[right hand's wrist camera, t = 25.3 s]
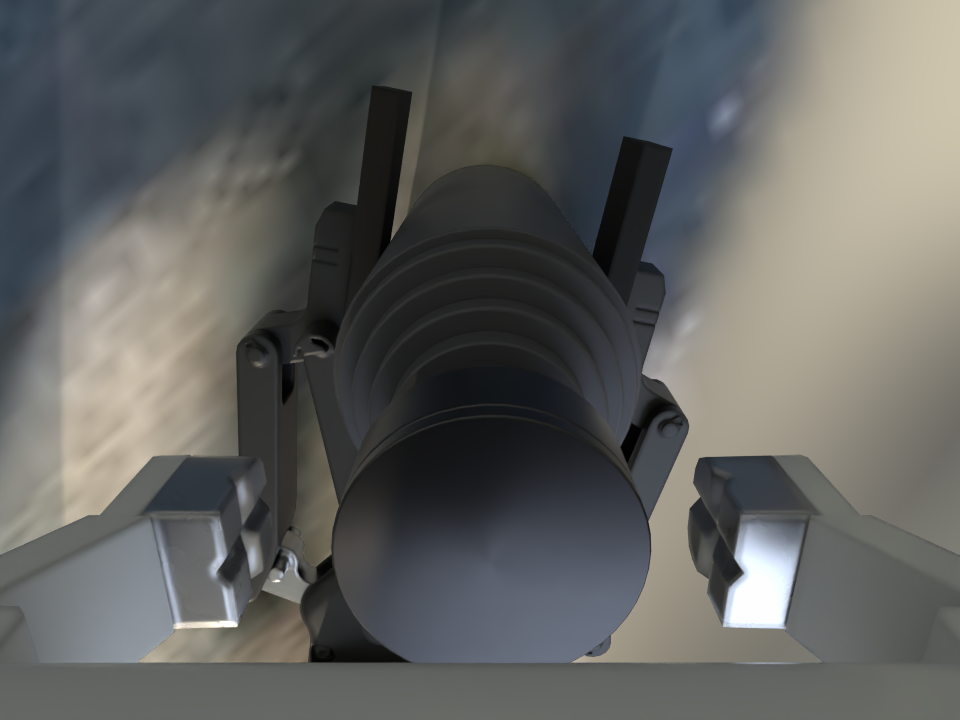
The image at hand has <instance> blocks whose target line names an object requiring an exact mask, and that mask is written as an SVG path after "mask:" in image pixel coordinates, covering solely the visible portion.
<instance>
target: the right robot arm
mask: <svg viewBox="0 0 960 720" xmlns="http://www.w3.org/2000/svg"><path fill="white" fill-rule="evenodd" d="M266 483H267V481H266V475H265V470H264V464H263V462H262V461H261V459H260V458H259V457H247V456H190V455H161V456H155V457H152V458H151V459H150V460H149V461H148V463H147V464H146V465H145V466H144V467H143V468H142V469H141V470H140V471H139V472H138V474H137V475H136V476H135V477H134V478H133V479H132V480H131V481H130V482H129V484H128V485H127V486H126V487H125V488H124V489H123V490H122V491H121V492H120V493H119V495H118V496H117V497H116V498H115V499H114V500H113V501H112V502H111V503H110V504H109V506H108V507H107V508H106V509H105V510H104V511H103V512H102V513H101V514H100V515H88V516H86V517H84V518H82V519H79V520H77V521H75V522H73V523H71V524H68V525H66V526H64V527H62V528H60V529H57V530H55V531H53V532H51V533H48V534H46V535H44V536H42V537H40V538H37V539H35V540H33V541H31V542H29V543H26V544H24V545H22V546H20V547H17V548H15V549H13V550H11V551H9V552H6V553H4V554H2V555H0V720H960V555H958V554H956V553H953V552H951V551H949V550H947V549H945V548H942V547H940V546H938V545H936V544H933V543H931V542H929V541H927V540H925V539H922V538H920V537H918V536H916V535H914V534H911V533H909V532H907V531H905V530H903V529H900V528H898V527H896V526H894V525H892V524H889V523H887V522H885V521H883V520H881V519H878V518H876V517H874V516H871V515H860V514H859V513H858V512H857V511H856V510H855V509H854V508H853V507H852V506H851V504H850V503H849V502H848V501H847V500H846V499H845V498H844V497H843V496H842V495H841V494H840V492H839V491H838V490H837V489H836V488H835V487H834V486H833V485H832V483H831V482H830V481H829V480H828V479H827V478H826V477H825V476H824V475H823V474H822V472H821V471H820V470H819V469H818V468H817V467H816V466H815V465H814V464H813V463H812V461H811V460H810V459H809V458H808V457H805V456H802V455H780V456H733V457H704V458H699V460H698V463H697V465H696V468H695V474H694V481H693V483H694V485H695V487H696V489H697V491H698V493H699V495H700V498H699V499H698V500H697V501H696V502H695V503H694V504H693V506H692V507H691V508H690V510H689V520H688V540H689V548H690V552H691V556H692V560H693V562H694V565H695V567H696V569H697V571H698V572H699V573H701V574H702V575H704V576H705V577H707V578H708V579H709V583H708V590H707V594H708V596H709V598H710V600H711V602H712V604H713V607H714V609H715V611H716V613H717V615H718V617H719V619H720V622H721V624H722V626H723V627H747V628H784V629H785V632H787V633H788V634H789V635H790V636H792V637H793V638H794V639H795V640H796V641H798V642H799V643H800V644H801V645H802V646H804V647H805V648H806V649H807V650H808V651H810V652H811V653H812V654H813V655H815V656H816V657H817V658H818V659H819V660H821V661H822V662H823V663H137V662H138V661H140V660H141V659H142V658H143V657H144V656H146V655H147V654H148V653H149V652H151V651H152V650H153V649H154V648H155V647H157V646H158V645H159V644H160V643H162V642H163V641H164V640H165V639H166V638H168V637H169V636H170V635H171V634H173V633H174V632H175V630H174V629H176V628H211V627H237V626H238V624H239V622H240V620H241V617H242V615H243V613H244V611H245V609H246V607H247V604H248V602H249V600H250V598H251V596H252V594H253V590H252V583H251V579H252V578H253V577H255V576H256V575H258V574H259V573H261V572H262V571H263V569H264V567H265V564H266V562H267V560H268V557H269V552H270V547H271V541H272V518H271V510H270V508H269V507H268V506H267V504H266V503H265V502H264V501H263V500H262V499H261V498H260V495H261V493H262V491H263V489H264V487H265V485H266Z"/></svg>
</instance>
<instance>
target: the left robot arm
mask: <svg viewBox="0 0 960 720" xmlns="http://www.w3.org/2000/svg"><path fill="white" fill-rule="evenodd" d="M411 97H412V92H410V91H405V90H400V89H395V88H391V87H384V86H372V90H371V98H370V106H369V114H368V122H367V130H366V138H365V146H364V154H363V162H362V170H361V178H360V186H359V194H358V202H357V205H352V204H347V203H342V202H337V201H335V202H333V203H332V204H331V205H329V206H328V207H327V208H325V210H324V211H323V213H322V215H321V217H320V219H319V220H318V222H317V224H316V228H315V237H314V247H313V257H312V258H313V260H312V266H311V276H310V286H309V295H308V304H307V308H306V309H303V310H299V311H293V312H285V311H282V310H274V311H271V312H269V313H267V314H266V315H265V316H264V317H263V318H262V319H261V320H260V321H259V322H258V323H257V324H256V325H255V326H254V327H253V328H252V329H251V330H250V332H249V333H248V334H247V335H246V336H245V337H244V338H243V339H242V340H241V341H240V343H239V344H238V346H237V351H236V363H237V402H238V441H239V456H247V457H259V458H260V459H261V461H262V462H263V464H264V470H265V475H266V481H267V483H266V485H265V487H264V489H263V491H262V493H261V495H260V498H261V499H262V500H263V501H264V502H265V503H266V504H267V506H268V507H269V508H270V510H271V518H272V541H271V547H270V552H269V557H268V560H267V562H266V564H265V567H264V569H263V571H262V572H261V573H259V574H258V575H256V576H255V577H253V578H252V579H251V583H252V590H253V594H252V596H251V598H250V600H249V602H252V601H254V600H256V598H257V597H258V596H259V594H260V592H261V590H264V591H266V592H269V593H272V594H274V595H277V596H280V597H282V598H285V599H288V600H290V601H293V602H296V603H298V604H300V612H301V616H302V619H303V621H304V623H305V624H306V626H307V628H308V630H309V633H310V649H309V657H308V663H411V662H409V661H407V660H405V659H403V658H402V657H400V656H398V655H397V654H395V653H393V652H391V651H390V650H389V649H387V648H386V647H385V646H383V645H382V644H381V643H379V642H378V641H377V640H376V639H375V638H374V637H373V636H372V635H370V634H369V633H368V632H367V631H366V630H365V629H364V628H363V626H362V625H361V624H360V623H359V621H358V620H357V619H356V618H355V616H354V615H353V614H352V612H351V610H350V609H349V607H348V605H347V604H346V602H345V600H344V598H343V596H342V594H341V591H340V589H339V586H338V584H337V581H336V577H335V572H334V568H333V563H332V554H331V555H330V556H329V557H327V558H326V559H325V560H324V561H323V562H321V563H320V564H319V565H318V566H317V567H314V566H312V565H310V564H309V563H308V562H307V561H306V559H305V557H304V546H305V545H304V542H303V540H302V538H301V537H300V536H301V531H300V530H299V529H298V528H296V527H293V526H291V527H290V525H291V522H292V520H293V517H294V512H295V508H296V498H297V425H298V362H304V364H305V368H306V372H307V377H308V381H309V385H310V389H311V393H312V397H313V401H314V405H315V409H316V413H317V417H318V421H319V426H320V430H321V434H322V438H323V442H324V446H325V450H326V454H327V458H328V462H329V466H330V470H331V474H332V479H333V483H334V487H335V491H336V495H337V499H338V503H339V505H340V502H341V500H342V496H343V493H344V491H345V488H346V485H347V482H348V479H349V476H350V474H351V471H352V468H353V465H354V462H355V459H356V456H357V454H358V451H357V449H356V448H355V446H354V444H353V443H352V441H351V439H350V437H349V434H348V432H347V429H346V427H345V425H344V422H343V418H342V415H341V413H340V409H339V405H338V402H337V398H336V393H335V385H334V377H333V372H334V353H335V347H336V341H337V337H338V333H339V330H340V327H341V324H342V321H343V319H344V316H345V314H346V312H347V310H348V308H349V306H350V304H351V302H352V301H353V299H354V297H355V296H356V294H357V293H358V291H359V290H360V288H361V287H362V285H363V284H364V282H365V280H366V279H367V277H368V276H369V274H370V273H371V271H372V270H373V268H374V266H375V265H376V263H377V262H378V260H379V259H380V257H381V256H382V254H383V253H384V251H385V249H386V248H387V246H388V245H389V243H390V240H391V234H392V227H393V220H394V213H395V206H396V199H397V193H398V186H399V179H400V172H401V165H402V158H403V152H404V145H405V138H406V131H407V124H408V117H409V111H410V104H411ZM672 150H673V149H672V148H669V147H666V146H662V145H659V144H656V143H652V142H649V141H644V140H639V139H635V138H630V137H625V136H624V137H623V141H622V144H621V148H620V152H619V156H618V160H617V164H616V167H615V171H614V175H613V179H612V183H611V186H610V190H609V194H608V198H607V202H606V206H605V209H604V213H603V217H602V221H601V225H600V228H599V232H598V236H597V240H596V244H595V248H594V251H593V255H592V257H593V258H594V260H595V261H596V262H597V264H598V265H599V267H600V268H601V269H602V271H603V272H604V274H605V275H606V276H607V278H608V279H609V281H610V282H611V283H612V285H613V286H614V288H615V289H616V290H617V292H618V293H619V295H620V297H621V298H622V300H623V302H624V304H625V305H626V307H627V309H628V311H629V313H630V316H631V318H632V321H633V323H634V326H635V328H636V332H637V337H638V341H639V345H640V352H641V364H642V369H643V364H644V361H645V358H646V355H647V352H648V348H649V345H650V342H651V339H652V335H653V332H654V329H655V324H656V322H657V319H658V316H659V311H660V310H661V306H662V303H663V300H664V297H665V281H664V275H663V274H662V273H661V272H660V271H659V270H658V269H657V268H656V267H655V266H654V265H653V264H652V263H647V262H642V261H640V260H641V257H642V253H643V250H644V246H645V243H646V239H647V236H648V232H649V229H650V225H651V222H652V219H653V215H654V212H655V208H656V205H657V201H658V198H659V194H660V191H661V187H662V184H663V181H664V177H665V174H666V170H667V167H668V163H669V160H670V156H671V153H672ZM688 430H689V423H688V420H687V418H686V416H685V415H684V413H683V412H682V410H681V408H680V407H679V405H678V404H677V402H676V401H675V399H674V397H673V396H672V394H671V393H670V391H669V389H668V388H667V387H666V385H665V384H664V383H663V382H661V381H659V380H657V379H650V378H648V377H647V376H645V375H643V374H642V371H641V386H640V391H639V396H638V401H637V405H636V408H635V412H634V416H633V419H632V422H631V425H630V428H629V430H628V433H627V435H626V437H625V439H624V441H623V443H622V445H621V447H620V448H621V450H622V453H623V455H624V458H625V460H626V463H627V465H628V468H629V470H630V473H631V475H632V478H633V480H634V483H635V486H636V488H637V490H638V493H639V495H640V498H641V501H642V503H643V506H644V509H645V512H646V514H647V518H648V521H649V519H650V516H651V514H652V512H653V510H654V507H655V505H656V503H657V501H658V498H659V496H660V494H661V492H662V490H663V487H664V485H665V483H666V481H667V478H668V476H669V474H670V472H671V469H672V467H673V465H674V463H675V460H676V458H677V456H678V454H679V452H680V449H681V447H682V445H683V443H684V440H685V438H686V436H687V434H688ZM249 602H248V603H249ZM610 644H611V635H610V636H609V637H608V638H607V639H606V640H605V641H604V642H602V643H601V644H600V645H598V646H597V647H595V648H594V649H593V650H591V651H590V652H588V653H587V654H585V655H586V656H590V657H595V656H600V655H602V654H604V653H606V651H607V650H608V649H609V648H610Z"/></svg>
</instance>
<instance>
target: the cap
mask: <svg viewBox="0 0 960 720" xmlns="http://www.w3.org/2000/svg"><path fill="white" fill-rule="evenodd" d="M331 550H332V563H333V568H334V572H335V577H336V581H337V584H338V586H339V589H340V591H341V594H342V596H343V598H344V600H345V602H346V604H347V605H348V607H349V609H350V610H351V612H352V614H353V615H354V616H355V618H356V619H357V620H358V621H359V623H360V624H361V625H362V626H363V628H364V629H365V630H366V631H367V632H368V633H369V634H370V635H372V636H373V637H374V638H375V639H376V640H377V641H378V642H379V643H381V644H382V645H383V646H385V647H386V648H387V649H389V650H390V651H391V652H393V653H395V654H397V655H398V656H400V657H402V658H403V659H405V660H407V661H409V662H411V663H571V662H572V661H574V660H576V659H578V658H580V657H582V656H583V655H585V654H587V653H588V652H590V651H591V650H593V649H594V648H595V647H597V646H598V645H600V644H601V643H602V642H604V641H605V640H606V639H607V638H608V637H609V636H610V635H611V634H612V633H613V632H615V631H616V629H617V628H618V627H619V626H620V625H621V624H622V622H623V621H624V620H625V619H626V618H627V616H628V615H629V613H630V612H631V610H632V609H633V607H634V605H635V604H636V602H637V600H638V598H639V596H640V594H641V591H642V589H643V587H644V584H645V581H646V577H647V574H648V570H649V564H650V557H651V533H650V528H649V523H648V518H647V514H646V512H645V509H644V506H643V503H642V501H641V498H640V495H639V493H638V490H637V488H636V486H635V483H634V480H633V478H632V475H631V473H630V470H629V468H628V465H627V463H626V460H625V458H624V455H623V453H622V450H621V448H620V446H619V443H618V441H617V439H616V437H615V435H614V433H613V431H612V430H611V428H610V426H609V425H608V423H607V422H606V421H605V419H604V418H603V417H602V415H601V414H600V413H599V412H598V411H597V410H596V409H595V408H594V407H593V406H592V405H591V404H590V403H589V402H588V401H587V400H586V399H585V398H583V397H582V396H581V395H579V394H578V393H577V392H575V391H574V390H572V389H571V388H569V387H567V386H565V385H564V384H562V383H560V382H558V381H556V380H554V379H551V378H549V377H546V376H544V375H541V374H539V373H535V372H531V371H527V370H524V369H518V368H511V367H504V366H478V367H469V368H462V369H458V370H454V371H449V372H445V373H442V374H440V375H437V376H434V377H432V378H429V379H427V380H425V381H423V382H421V383H419V384H417V385H415V386H413V387H411V388H410V389H408V390H407V391H406V392H404V393H403V394H401V395H400V396H398V397H397V398H396V399H395V400H394V401H393V402H391V403H390V404H389V405H388V406H387V407H386V408H385V409H384V410H383V411H382V412H381V414H380V415H379V416H378V417H377V418H376V420H375V421H374V422H373V423H372V425H371V427H370V428H369V430H368V432H367V433H366V435H365V437H364V439H363V441H362V444H361V446H360V449H359V451H358V454H357V456H356V459H355V462H354V465H353V468H352V471H351V474H350V476H349V479H348V482H347V485H346V488H345V491H344V493H343V496H342V500H341V502H340V505H339V508H338V511H337V514H336V518H335V522H334V526H333V531H332V544H331Z"/></svg>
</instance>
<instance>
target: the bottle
mask: <svg viewBox="0 0 960 720" xmlns="http://www.w3.org/2000/svg"><path fill="white" fill-rule="evenodd" d="M478 366H504V367H511V368H518V369H524V370H527V371H531V372H535V373H539V374H541V375H544V376H546V377H549V378H551V379H554V380H556V381H558V382H560V383H562V384H564V385H565V386H567V387H569V388H571V389H572V390H574V391H575V392H577V393H578V394H579V395H581V396H582V397H583V398H585V399H586V400H587V401H588V402H589V403H590V404H591V405H592V406H593V407H594V408H595V409H596V410H597V411H598V412H599V413H600V414H601V415H602V417H603V418H604V419H605V421H606V422H607V423H608V425H609V426H610V428H611V430H612V431H613V433H614V435H615V437H616V439H617V441H618V443H619V446H620V447H621V445H622V443H623V441H624V439H625V437H626V435H627V433H628V430H629V428H630V425H631V422H632V419H633V416H634V412H635V408H636V405H637V401H638V396H639V391H640V386H641V371H642V364H641V352H640V345H639V341H638V337H637V332H636V328H635V326H634V323H633V321H632V318H631V316H630V313H629V311H628V309H627V307H626V305H625V304H624V302H623V300H622V298H621V297H620V295H619V293H618V292H617V290H616V289H615V288H614V286H613V285H612V283H611V282H610V281H609V279H608V278H607V276H606V275H605V274H604V272H603V271H602V269H601V268H600V267H599V265H598V264H597V262H596V261H595V260H594V258H593V257H592V255H591V254H590V253H589V251H588V250H587V248H586V247H585V245H584V244H583V243H582V241H581V240H580V238H579V237H578V236H577V234H576V233H575V231H574V230H573V229H572V227H571V226H570V224H569V223H568V222H567V220H566V219H565V217H564V216H563V215H562V213H561V212H560V210H559V209H558V208H557V206H556V205H555V203H554V202H553V201H552V199H551V198H550V197H549V195H548V194H547V193H546V192H545V191H544V190H543V189H542V188H541V187H540V186H539V185H538V184H537V183H535V182H534V181H533V180H531V179H530V178H528V177H526V176H524V175H523V174H521V173H519V172H516V171H514V170H511V169H508V168H504V167H499V166H490V165H480V166H471V167H465V168H462V169H459V170H456V171H453V172H451V173H449V174H447V175H445V176H443V177H442V178H440V179H439V180H437V181H436V182H434V183H433V184H432V185H431V186H430V187H428V188H427V189H426V190H425V191H424V193H423V194H422V195H421V196H420V197H419V199H418V200H417V202H416V203H415V205H414V206H413V208H412V209H411V211H410V212H409V214H408V215H407V217H406V218H405V220H404V222H403V223H402V225H401V226H400V228H399V229H398V231H397V232H396V234H395V236H394V237H393V239H392V240H391V242H390V243H389V245H388V246H387V248H386V249H385V251H384V253H383V254H382V256H381V257H380V259H379V260H378V262H377V263H376V265H375V266H374V268H373V270H372V271H371V273H370V274H369V276H368V277H367V279H366V280H365V282H364V284H363V285H362V287H361V288H360V290H359V291H358V293H357V294H356V296H355V297H354V299H353V301H352V302H351V304H350V306H349V308H348V310H347V312H346V314H345V316H344V319H343V321H342V324H341V327H340V330H339V333H338V337H337V341H336V347H335V353H334V372H333V377H334V385H335V393H336V398H337V402H338V405H339V409H340V413H341V415H342V418H343V422H344V425H345V427H346V429H347V432H348V434H349V437H350V439H351V441H352V443H353V444H354V446H355V448H356V449H357V451H359V449H360V446H361V444H362V441H363V439H364V437H365V435H366V433H367V432H368V430H369V428H370V427H371V425H372V423H373V422H374V421H375V420H376V418H377V417H378V416H379V415H380V414H381V412H382V411H383V410H384V409H385V408H386V407H387V406H388V405H389V404H390V403H391V402H393V401H394V400H395V399H396V398H397V397H398V396H400V395H401V394H403V393H404V392H406V391H407V390H408V389H410V388H411V387H413V386H415V385H417V384H419V383H421V382H423V381H425V380H427V379H429V378H432V377H434V376H437V375H440V374H442V373H445V372H449V371H454V370H458V369H462V368H469V367H478Z"/></svg>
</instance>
